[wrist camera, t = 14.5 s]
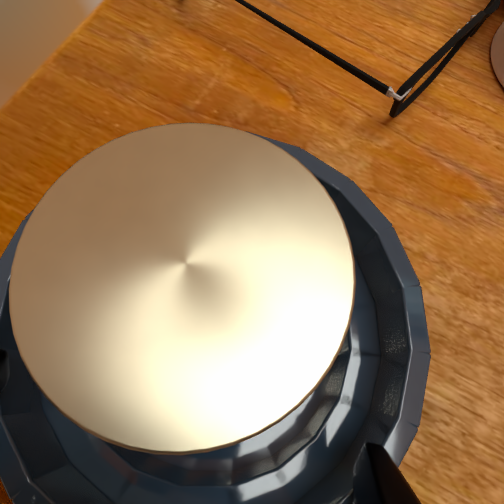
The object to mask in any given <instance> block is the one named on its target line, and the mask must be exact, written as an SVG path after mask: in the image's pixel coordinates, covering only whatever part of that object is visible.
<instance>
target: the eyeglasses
mask: <svg viewBox="0 0 504 504" xmlns="http://www.w3.org/2000/svg"><path fill="white" fill-rule="evenodd" d="M235 1H237V2H239V3H240V4H242V5H243V6H245V7H246V8H248V9H250V10H251V11H253V12H254V13H256V14H258V15H259V16H261V17H262V18H264V19H266V20H267V21H269V22H270V23H272V24H274V25H275V26H277V27H278V28H280V29H282V30H283V31H285V32H286V33H288V34H289V35H291V36H293V37H294V38H296V39H297V40H299V41H301V42H302V43H304V44H305V45H307V46H308V47H310V48H312V49H313V50H315V51H316V52H318V53H319V54H321V55H323V56H324V57H326V58H327V59H329V60H331V61H332V62H334V63H335V64H337V65H338V66H340V67H342V68H343V69H345V70H346V71H348V72H350V73H351V74H353V75H354V76H356V77H357V78H359V79H361V80H362V81H364V82H365V83H367V84H369V85H370V86H372V87H373V88H375V89H376V90H378V91H380V92H381V93H383V94H384V95H386V96H387V97H393V99H394V100H395V101H394V103H393V105H392V108H391V110H390V113H389V115H390V116H391V117H392V118H394V117H396V116H397V115H399V114H400V113H401V112H402V111H403V110H404V109H405V108H406V107H407V106H409V105H410V104H411V103H412V102H413V101H414V100H415V99H416V98H417V97H418V96H419V95H420V94H421V93H422V92H423V91H424V90H425V89H426V88H427V87H428V86H429V84H430V83H431V82H432V81H433V80H434V79H435V78H436V77H437V75H438V74H439V73H440V72H441V71H442V70H443V68H444V67H445V66H446V65H447V63H448V62H449V61H450V60H451V59H452V57H453V56H454V55H455V54H456V52H457V51H458V50H459V49H460V47H461V46H462V45H463V44H464V42H465V41H466V40H467V39H468V37H469V36H470V37H472V36H473V35H474V34H475V33H476V31H477V30H478V29H479V27H480V26H481V25H482V24H483V22H484V21H485V20H486V18H488V17H489V16H490V15H491V14H492V13H493V12H494V11H496V10H497V9H498V7H499V5H500V1H501V0H491V1H490V3H489V4H488V5H487V7H486V8H485V9H484V11H480V12H479V13H478V14H477V15H472V16H471V19H470V21H469V22H467V24H466V25H465V26H464V27H463V28H462V29H458V30H457V32H456V34H455V35H454V36H453V37H452V38H451V39H450V40H449V41H448V42H447V43H446V44H445V45H444V46H442V47H441V48H440V49H439V50H438V51H437V52H436V53H435V54H434V55H433V56H432V57H431V58H430V59H429V60H428V61H427V62H425V63H424V64H423V65H422V66H421V67H420V68H419V69H418V70H417V71H416V72H415V73H414V74H413V75H412V76H411V77H410V78H409V79H408V80H407V81H406V82H405V83H404V84H403V85H402V86H401V87H400V88H399V89H398V91H397V92H396V93H394V90H392V87H388V86H387V85H385V84H383V83H382V82H380V81H378V80H377V79H375V78H373V77H372V76H370V75H368V74H367V73H365V72H363V71H361V70H360V69H358V68H356V67H355V66H353V65H351V64H350V63H348V62H346V61H345V60H343V59H341V58H340V57H338V56H336V55H335V54H333V53H331V52H330V51H328V50H326V49H324V48H323V47H321V46H319V45H318V44H316V43H314V42H313V41H311V40H309V39H308V38H306V37H304V36H303V35H301V34H299V33H298V32H296V31H294V30H292V29H291V28H289V27H287V26H286V25H284V24H282V23H281V22H279V21H277V20H276V19H274V18H272V17H271V16H269V15H267V14H266V13H264V12H262V11H261V10H259V9H257V8H256V7H254V6H252V5H251V4H249V3H247V2H246V1H244V0H235ZM473 17H474V18H473ZM452 47H453V48H452ZM451 48H452V49H451ZM450 49H451V51H450V52H449V53H448V54H447V56H446V57H445V58H444V59H443V61H442V62H441V63H440V64H439V65H438V67H437V68H436V69H435V70H434V72H433V73H432V74H431V75H430V76H429V77H428V79H427V80H426V81H425V82H424V83H423V84H422V85H421V86H420V87H419V88H418V89H417V90H416V91H415V92H414V93H413V94H412V95H411V96H410V97H409V98H408V99H407V100H405V101H404V99H405V98H406V96H407V95H408V93H409V92H410V91H411V89H412V88H413V87H414V85H415V84H416V83H417V82H418V81H419V80H420V78H421V77H422V76H423V75H424V74H425V73H426V72H427V71H429V70H430V69H431V68H432V67H433V66H434V65H435V64H436V63H437V62H438V61H439V60H440V59H441V58H442V57H443V56H444V55H445V54H446V53H447V52H448V51H449V50H450ZM403 101H404V102H403Z"/></svg>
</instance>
